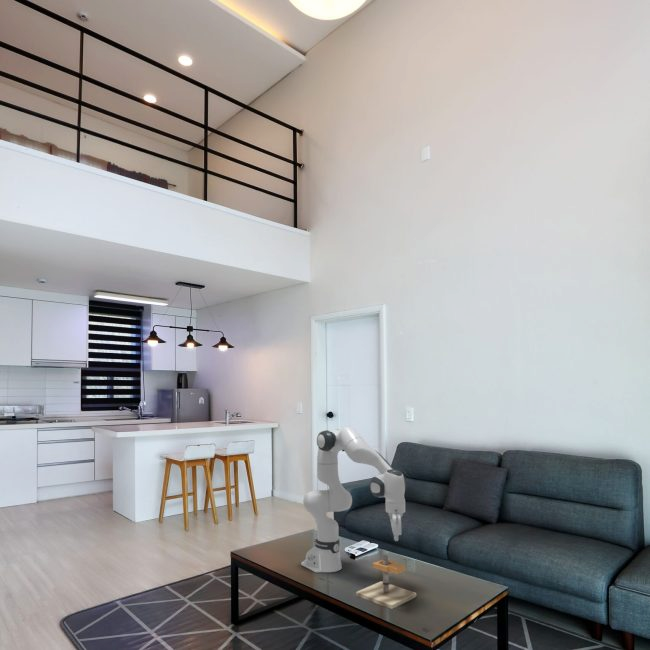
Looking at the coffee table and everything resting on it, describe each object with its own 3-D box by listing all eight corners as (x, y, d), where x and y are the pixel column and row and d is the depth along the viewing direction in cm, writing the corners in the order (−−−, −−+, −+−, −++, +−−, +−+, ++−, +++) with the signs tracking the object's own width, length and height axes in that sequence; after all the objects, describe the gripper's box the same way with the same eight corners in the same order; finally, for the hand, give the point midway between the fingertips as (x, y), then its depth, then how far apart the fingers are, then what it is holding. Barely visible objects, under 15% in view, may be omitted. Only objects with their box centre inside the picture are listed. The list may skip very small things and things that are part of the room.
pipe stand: (356, 595, 224) (355, 555, 226) (381, 584, 236) (380, 546, 239) (391, 609, 210) (391, 566, 212) (416, 596, 223) (415, 556, 225)
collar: (373, 567, 225) (373, 563, 225) (384, 563, 230) (384, 558, 231) (395, 574, 216) (395, 570, 216) (406, 570, 222) (406, 565, 222)
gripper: (404, 513, 213) (405, 547, 212) (400, 502, 234) (401, 533, 232) (389, 513, 214) (390, 547, 212) (387, 502, 234) (388, 533, 232)
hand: (396, 540), depth 222 cm, fingers closed
